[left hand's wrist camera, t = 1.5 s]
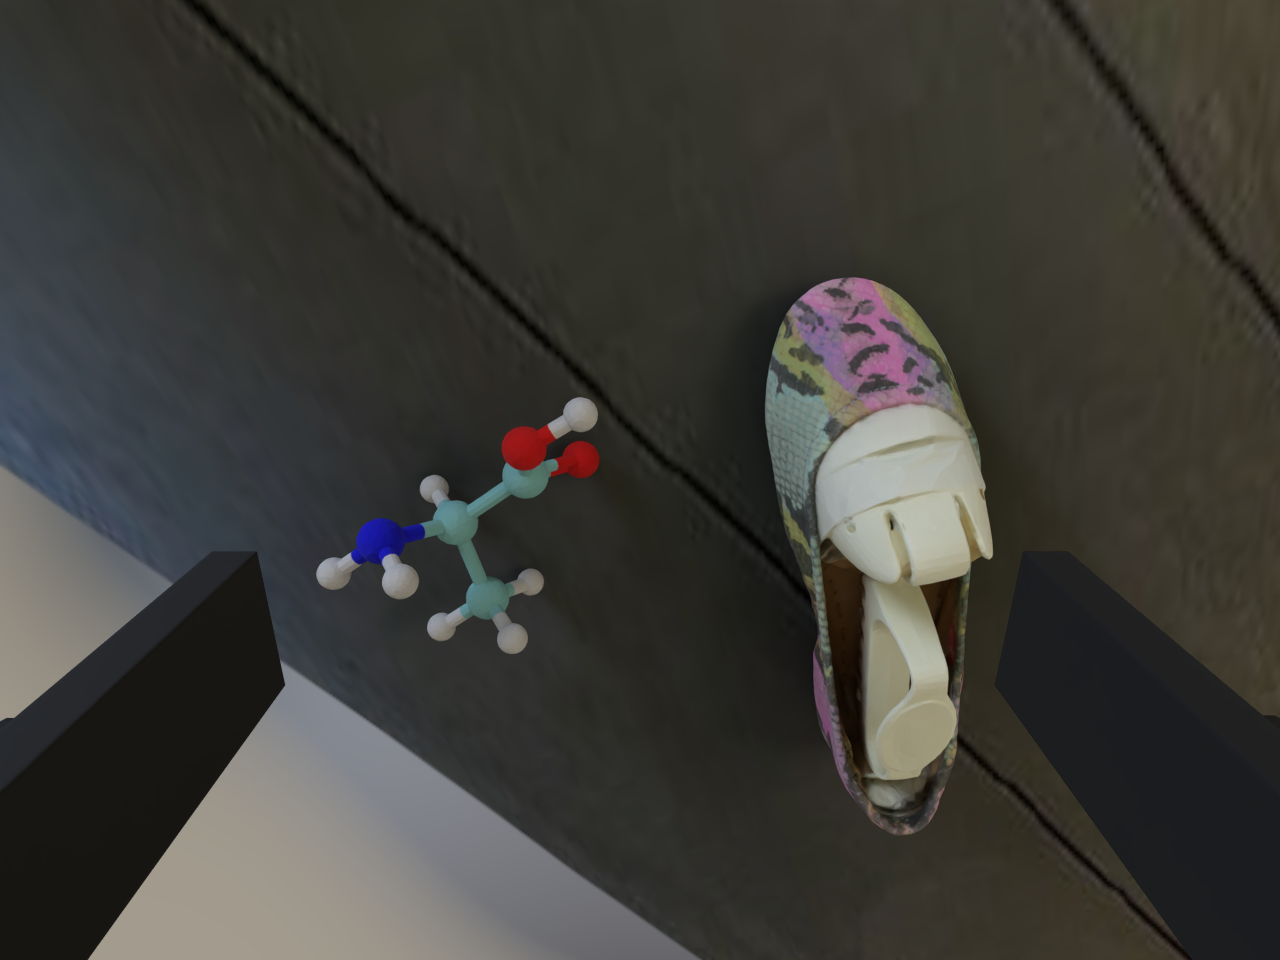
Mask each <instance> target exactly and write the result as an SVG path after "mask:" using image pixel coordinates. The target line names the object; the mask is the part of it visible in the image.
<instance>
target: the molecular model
mask: <svg viewBox="0 0 1280 960" xmlns="http://www.w3.org/2000/svg"><path fill="white" fill-rule="evenodd" d="M597 417H598V412H597V408H596V406H595V405H594V403H593V402H592V401H590V400H589V399H586V398H581V397H578V398H575V399H572V400H571V401H569V402H568V403H567V404H566V406H565V408H564V412H563V415H562V416H561V417H559V418H557V419H556V420H554V421H552V422H551V423H549V424H547V425H546V426H544V427H542V428H541V429H539V430H535V429H534V428H531V427H527V426H521V427H517V428H514V429H513V430H511V431H510V432H508V433H507V435H506V436H505V438H504V440H503V442H502V453H503V457H504V459H505V461H506V462H507V463H506V464H505V466H504V469H503V476H502V477H503V482H502V483H500V484H499V485H497V486H496V487H494V488H493V489H491V490H490V491H488V492H487V493H485V494H484V495H483V496H481V497H480V498H478V499H477V500H475V501H474V502H472V503H471V504H467V503H465V502H463V501H458V500H455V501H451V500H450V499H449V497H448V496H447V495H448V492H449V486H448V483H447V482H446V480H445V479H444V478H442V477H441V476H438V475H431V476H428V477H426V478H425V479H424V480H423V481H422V483H421V485H420V493H421V495H422V497H423V498H424V499H425V500H426V501H428V502H431V503H435V505H436V506H437V508H438V509H437V511H436V512H435V515H434V517H433V521H429V522H424V523H420V524H416V525H412V526H408V527H404V528H401V527H400V526H399V525H398V524H397V523H395V522H393V521H391V520H389V519H384V518H379V519H374V520H372V521H369V522H368V523H366V524H365V525H363V527H362V528H361V529H360V532H359V534H358V536H357V541H356V542H357V548H356V549H355V550H354V551H352V552H351V553H349V554H348V555H346V556H345V557H343V558H342V559H341V558H336V557H334V558H329V559H326V560H325V561H323V562H322V563H321V564H320V565H319V568H318V570H317V579H318V582H319V583H320V584H321V585H322V586H323V587H325V588H327V589H330V590H335V589H340V588H342V587H344V586H345V585H346V584H347V583H348V582H349V579H350V577H351V572H352V571H353V570H354V569H356V568H357V567H359V566H360V565H362V564H363V563H365V562H366V561H369V562H371V563H375V564H382V565H383V566H384V569H385V571H386V572H385V574H384V576H383V580H382V586H383V589H384V591H385V592H386V593H387V594H388V595H389V596H391V597H392V598H396V599H405V598H407V597H409V596H411V595H412V594H413V593H414V592H415V591H416V590H417V587H418V584H419V577H418V574H417V573H416V571H415V570H414V569H413V568H412V567H410V566H409V565H406V564H402V563H401V561H400V559H399V557H398V556H399V555H400V554H401V553H402V551H403V548H404V545H405V543H408V542H412V541H416V540H420V539H424V538H427V537H431V536H435V535H437V536H438V537H439V539H440V540H442V541H443V542H445V543H447V544H452V545H457V546H458V549H459V551H460V553H461V556H462V558H463V560H464V562H465V565H466V567H467V569H468V572H469V574H470V576H471V579H472V581H473V583H472V584H471V586H470V587H469V589H468V591H467V596H466V602H467V603H466V604H464V605H463V606H461V607H459V608H458V609H456V610H455V611H453V612H452V613H450V614H447V613H438V614H436V615H434V616H432V617H431V619H430V620H429V622H428V627H427V630H428V633H429V635H430V636H431V637H432V638H433V639H435V640H438V641H444V640H448V639H449V638H451V637H452V635H453V634H454V632H455V630H456V626H457V625H459V624H460V623H462V622H463V621H465V620H466V619H468V618H470V617H471V616H473V615H475V616H477V617H479V618H481V619H492V620H493V621H494V623H495V625H496V626H497V628H498V630H499V634H498V638H497V641H498V645H499V647H500V648H501V649H502V650H503V651H504V652H506V653H509V654H515V653H518V652H521V651H522V650H523V649H524V648H525V646H526V644H527V640H528V636H527V632H526V630H525V629H524V628H523V627H522V626H521V625H519V624H515V623H512V622H511V621H510V619H509V617H508V616H507V614H506V612H505V610H506V608H507V606H508V603H509V597H511V596H514V595H516V594H519V593H524V594H526V595H535V594H537V593H539V592H540V590H541V589H542V587H543V585H544V579H543V576H542V574H541V573H540V572H539V571H537V570H536V569H526V570H524V571H523V572H521V573H520V575H519V576H518V579H517V580H515V581H512V582H509V583H507V584H504V583H503V582H502V581H501V580H499V579H497V578H494V577H488V576H486V574H485V571H484V569H483V567H482V564H481V562H480V560H479V557H478V555H477V553H476V550H475V548H474V546H473V543H472V541H471V538H472V537H473V536H474V535H475V533H476V531H477V528H478V516H480V515H481V514H483V513H484V512H486V511H487V510H489V509H490V508H492V507H493V506H494V505H496V504H497V503H499V502H500V501H502V500H503V499H505V498H506V497H508V496H509V495H511V494H513V495H515V496H516V497H519V498H533V497H535V496H537V495H539V494H540V493H541V492H542V491H543V490H544V489H545V487H546V485H547V483H548V478H549V477H552V476H556V475H559V474H562V473H566V472H567V473H569V474H570V475H572V476H574V477H577V478H585V477H588V476H590V475H591V474H593V473H594V472H595V471H596V470H597V467H598V465H599V454H598V452H597V450H596V448H595V447H594V446H593V445H592V444H590V443H588V442H584V441H576V442H573V443H571V444H570V445H569V446H567V447H566V449H565V450H564V453H563V456H562V457H559V458H555V459H551V460H547V461H543V460H544V458H545V456H546V450H547V447H546V445H548V444H549V443H551V442H553V441H554V440H556V439H558V438H559V437H561V436H563V435H564V434H566V433H568V432H569V431H571V430H574V431H577V432H584V431H588V430H590V429H591V428H592V427H593V426H594V425H595V424H596V421H597Z"/></svg>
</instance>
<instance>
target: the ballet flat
mask: <svg viewBox="0 0 1280 960" xmlns="http://www.w3.org/2000/svg"><path fill="white" fill-rule="evenodd" d="M765 423H766V430H767V437H768V443H769V449H770V454H771V459H772V465H773V471H774V477H775V484H776V490H777V497H778V503H779V507H780V512H781V515H782V518H783V523H784V528H785V532H786V535H787V537H788V540H789V542H790V545H791V547H792V549H793V551H794V554H795V557H796V559H797V562H798V564H799V567H800V570H801V573H802V578H803V580H804V583H805V585H806V587H807V589H808V591H809V594H810V597H811V600H812V601H811V603H812V607H813V609H814V613H815V618H816V622H817V630H818V640H817V642H816V645H815V648H814V652H813V665H814V670H813V678H814V694H815V701H816V709H817V717H818V721H819V725H820V727H821V730H822V733H823V736H824V738H825V740H826V741H827V743H828V745H829V747H830V748H831V751H832V754H833V757H834V760H835V763H836V766H837V769H838V772H839V775H840V777H841V779H842V781H843V783H844V785H845V787H846V789H847V790H848V792H849V793H850V794H851V796H852V797H853V798H854V800H855V801H856V802H857V803H858V805H859V806H860V808H861V809H862V810H863V811H864V813H865V814H866V815H867V816H868V817H869V818H870V820H871V821H872V822H873V823H875V824H877V825H878V826H879V827H880V828H882V829H884V830H886V831H887V832H889V833H891V834H894V835H909V834H914V833H916V832H918V831H920V830H922V829H923V828H924V827H925V826H926V825H927V824H928V823H929V822H930V820H931V819H932V817H933V815H934V813H935V811H936V809H937V807H938V803H939V799H940V797H941V795H942V793H943V790H944V788H945V785H946V783H947V780H948V778H949V775H950V773H951V770H952V767H953V764H954V760H955V755H956V749H957V732H958V719H959V702H960V693H961V689H962V683H963V663H964V649H965V644H964V640H965V631H966V630H965V627H966V617H967V604H968V600H967V598H968V590H969V581H970V569H971V562H973V561H974V560H976V559H977V558H979V557H981V556H983V557H984V558H986V559H990V558H991V557H992V556H993V546H992V537H991V530H990V524H989V518H988V513H987V507H986V502H985V497H984V491H985V483H984V480H983V478H982V475H981V463H980V453H979V446H978V442H977V438H976V434H975V432H974V430H973V428H972V425H971V423H970V421H969V420H968V417H967V414H966V411H965V408H964V405H963V402H962V399H961V396H960V393H959V390H958V387H957V384H956V381H955V379H954V376H953V373H952V370H951V368H950V366H949V364H948V361H947V359H946V357H945V355H944V353H943V351H942V349H941V348H940V346H939V344H938V342H937V341H936V339H935V338H934V336H933V335H932V333H931V332H930V330H929V329H928V328H927V326H926V325H925V323H924V322H923V320H922V319H921V318H920V316H919V315H918V314H917V313H916V312H915V310H914V309H913V308H912V307H911V306H910V305H909V304H908V303H907V302H906V301H905V300H904V299H903V298H902V297H901V296H900V295H898V294H897V293H895V292H894V291H893V290H891V289H889V288H887V287H886V286H884V285H881V284H879V283H877V282H874V281H871V280H867V279H862V278H856V277H846V278H840V279H834V280H830V281H827V282H824V283H821V284H819V285H817V286H815V287H813V288H811V289H810V290H809V291H808V292H807V293H805V294H804V295H803V296H802V297H801V298H799V299H798V300H797V301H796V302H795V303H794V304H793V306H792V307H791V308H790V310H789V311H788V312H787V314H786V316H785V318H784V320H783V322H782V324H781V326H780V329H779V332H778V335H777V338H776V342H775V345H774V348H773V352H772V357H771V361H770V366H769V372H768V378H767V387H766V401H765Z"/></svg>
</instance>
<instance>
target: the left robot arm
mask: <svg viewBox="0 0 1280 960" xmlns="http://www.w3.org/2000/svg"><path fill="white" fill-rule="evenodd" d="M284 686H285V682H284V678H283V673H282V668H281V663H280V659H279V654H278V649H277V644H276V640H275V635H274V630H273V626H272V621H271V616H270V611H269V607H268V602H267V597H266V593H265V588H264V583H263V578H262V574H261V569H260V564H259V560H258V555H257V552H211V553H210V554H209V555H208V556H206V557H205V558H204V559H203V560H202V561H200V562H199V563H198V564H197V565H196V566H194V567H193V568H192V569H191V570H190V571H189V572H187V573H186V574H185V575H184V576H183V577H181V578H180V579H179V580H178V581H177V582H175V583H174V584H173V585H172V586H171V587H169V588H168V589H167V590H166V591H165V592H164V593H162V594H161V595H160V596H159V597H158V598H156V599H155V600H154V601H153V602H152V603H150V604H149V605H148V606H147V607H146V608H145V609H143V610H142V611H141V612H140V613H139V614H137V615H136V616H135V617H134V618H133V619H131V620H130V621H129V622H128V623H127V624H126V625H124V626H123V627H122V628H121V629H120V630H118V631H117V632H116V633H115V634H114V635H112V636H111V637H110V638H109V639H108V640H107V641H105V642H104V643H103V644H102V645H101V646H99V647H98V648H97V649H96V650H95V651H93V652H92V653H91V654H90V655H89V656H87V657H86V658H85V659H84V660H83V661H82V662H80V663H79V664H78V665H77V666H76V667H74V668H73V669H72V670H71V671H70V672H68V673H67V674H66V675H65V676H64V677H62V678H61V679H60V680H59V681H58V682H57V683H55V684H54V685H53V686H52V687H51V688H49V689H48V690H47V691H46V692H45V693H43V694H42V695H41V696H40V697H39V698H38V699H36V700H35V701H34V702H33V703H32V704H30V705H29V706H28V707H27V708H26V709H24V710H23V711H22V712H21V713H20V714H19V715H17V716H16V717H15V718H6V719H4V720H2V721H0V960H88V959H89V957H90V956H91V954H92V953H93V952H94V950H95V949H96V947H97V946H98V945H99V943H100V942H101V940H102V939H103V938H104V936H105V935H106V934H107V932H108V931H109V929H110V928H111V927H112V925H113V924H114V922H115V921H116V920H117V918H118V917H119V915H120V914H121V913H122V911H123V910H124V908H125V907H126V906H127V904H128V903H129V902H130V900H131V899H132V897H133V896H134V895H135V893H136V892H137V890H138V889H139V888H140V886H141V885H142V883H143V882H144V881H145V879H146V878H147V877H148V875H149V874H150V872H151V871H152V869H153V868H154V867H155V865H156V864H157V863H158V861H159V860H160V858H161V857H162V856H163V854H164V853H165V852H166V850H167V849H168V847H169V846H170V845H171V843H172V842H173V840H174V839H175V838H176V836H177V835H178V833H179V832H180V831H181V829H182V828H183V826H184V825H185V824H186V822H187V821H188V819H189V818H190V817H191V815H192V814H193V813H194V811H195V810H196V808H197V807H198V806H199V804H200V803H201V801H202V800H203V799H204V797H205V796H206V795H207V793H208V792H209V790H210V789H211V788H212V786H213V785H214V783H215V782H216V781H217V779H218V778H219V776H220V775H221V774H222V772H223V771H224V769H225V768H226V767H227V765H228V764H229V763H230V761H231V760H232V758H233V757H234V756H235V754H236V753H237V751H238V750H239V749H240V747H241V746H242V744H243V743H244V742H245V740H246V739H247V737H248V736H249V735H250V733H251V732H252V731H253V729H254V728H255V726H256V725H257V724H258V722H259V721H260V719H261V718H262V717H263V715H264V714H265V712H266V711H267V710H268V708H269V707H270V705H271V704H272V703H273V701H274V700H275V699H276V697H277V696H278V694H279V693H280V692H281V690H282V689H283V687H284ZM995 686H996V687H997V689H998V690H999V692H1000V693H1001V694H1002V696H1003V697H1004V699H1005V700H1006V701H1007V703H1008V704H1009V706H1010V707H1011V708H1012V710H1013V711H1014V712H1015V714H1016V715H1017V717H1018V718H1019V719H1020V721H1021V722H1022V724H1023V725H1024V726H1025V728H1026V729H1027V731H1028V732H1029V733H1030V735H1031V736H1032V738H1033V739H1034V740H1035V742H1036V743H1037V744H1038V746H1039V747H1040V749H1041V750H1042V751H1043V753H1044V754H1045V756H1046V757H1047V758H1048V760H1049V761H1050V763H1051V764H1052V765H1053V767H1054V768H1055V769H1056V771H1057V772H1058V774H1059V775H1060V776H1061V778H1062V779H1063V781H1064V782H1065V783H1066V785H1067V786H1068V788H1069V789H1070V790H1071V792H1072V793H1073V795H1074V796H1075V797H1076V799H1077V800H1078V801H1079V803H1080V804H1081V806H1082V807H1083V808H1084V810H1085V811H1086V813H1087V814H1088V815H1089V817H1090V818H1091V820H1092V821H1093V822H1094V824H1095V825H1096V826H1097V828H1098V829H1099V831H1100V832H1101V833H1102V835H1103V836H1104V838H1105V839H1106V840H1107V842H1108V843H1109V845H1110V846H1111V847H1112V849H1113V850H1114V852H1115V853H1116V854H1117V856H1118V857H1119V858H1120V860H1121V861H1122V863H1123V864H1124V865H1125V867H1126V868H1127V870H1128V871H1129V872H1130V874H1131V875H1132V877H1133V878H1134V879H1135V881H1136V882H1137V883H1138V885H1139V886H1140V888H1141V889H1142V890H1143V892H1144V893H1145V895H1146V896H1147V897H1148V899H1149V900H1150V902H1151V903H1152V904H1153V906H1154V907H1155V909H1156V910H1157V911H1158V913H1159V914H1160V915H1161V917H1162V918H1163V920H1164V921H1165V922H1166V924H1167V925H1168V927H1169V928H1170V929H1171V931H1172V932H1173V934H1174V935H1175V936H1176V938H1177V939H1178V940H1179V942H1180V943H1181V945H1182V946H1183V947H1184V949H1185V950H1186V952H1187V953H1188V954H1189V956H1190V957H1191V959H1192V960H1280V718H1278V717H1276V716H1263V715H1262V714H1260V713H1259V712H1258V711H1257V710H1256V709H1254V708H1253V707H1252V706H1251V705H1250V704H1248V703H1247V702H1246V701H1245V700H1244V699H1242V698H1241V697H1240V696H1239V695H1238V694H1237V693H1235V692H1234V691H1233V690H1232V689H1231V688H1229V687H1228V686H1227V685H1226V684H1225V683H1223V682H1222V681H1221V680H1220V679H1219V678H1218V677H1216V676H1215V675H1214V674H1213V673H1212V672H1210V671H1209V670H1208V669H1207V668H1206V667H1204V666H1203V665H1202V664H1201V663H1200V662H1198V661H1197V660H1196V659H1195V658H1194V657H1193V656H1191V655H1190V654H1189V653H1188V652H1187V651H1185V650H1184V649H1183V648H1182V647H1181V646H1179V645H1178V644H1177V643H1176V642H1175V641H1174V640H1172V639H1171V638H1170V637H1169V636H1168V635H1166V634H1165V633H1164V632H1163V631H1162V630H1160V629H1159V628H1158V627H1157V626H1156V625H1155V624H1153V623H1152V622H1151V621H1150V620H1149V619H1147V618H1146V617H1145V616H1144V615H1143V614H1141V613H1140V612H1139V611H1138V610H1137V609H1135V608H1134V607H1133V606H1132V605H1131V604H1130V603H1128V602H1127V601H1126V600H1125V599H1124V598H1122V597H1121V596H1120V595H1119V594H1118V593H1116V592H1115V591H1114V590H1113V589H1112V588H1111V587H1109V586H1108V585H1107V584H1106V583H1105V582H1103V581H1102V580H1101V579H1100V578H1099V577H1097V576H1096V575H1095V574H1094V573H1093V572H1091V571H1090V570H1089V569H1088V568H1087V567H1086V566H1084V565H1083V564H1082V563H1081V562H1080V561H1078V560H1077V559H1076V558H1075V557H1074V556H1072V555H1071V554H1070V553H1069V552H1023V555H1022V560H1021V564H1020V569H1019V574H1018V578H1017V583H1016V588H1015V593H1014V597H1013V602H1012V607H1011V611H1010V616H1009V621H1008V626H1007V630H1006V635H1005V640H1004V644H1003V649H1002V654H1001V659H1000V663H999V668H998V673H997V677H996V682H995Z"/></svg>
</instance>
